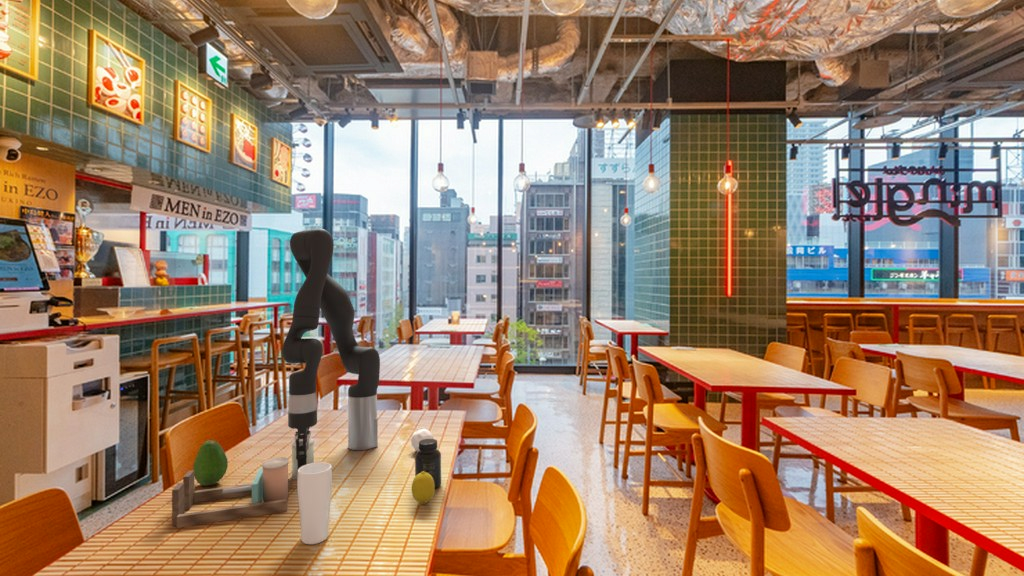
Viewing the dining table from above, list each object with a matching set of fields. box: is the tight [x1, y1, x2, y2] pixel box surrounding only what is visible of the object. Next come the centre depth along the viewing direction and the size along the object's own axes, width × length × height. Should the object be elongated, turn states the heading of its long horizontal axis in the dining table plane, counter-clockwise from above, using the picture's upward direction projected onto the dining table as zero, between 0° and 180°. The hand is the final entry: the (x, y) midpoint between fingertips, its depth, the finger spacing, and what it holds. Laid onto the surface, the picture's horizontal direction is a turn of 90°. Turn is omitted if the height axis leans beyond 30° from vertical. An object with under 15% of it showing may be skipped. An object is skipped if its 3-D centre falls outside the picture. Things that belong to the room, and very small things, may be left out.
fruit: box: [192, 439, 229, 487], centre depth 127 cm, size 8×8×12 cm
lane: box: [171, 469, 294, 529], centre depth 114 cm, size 23×14×8 cm, turn 110°
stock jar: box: [261, 456, 289, 503], centre depth 117 cm, size 6×6×10 cm
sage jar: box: [291, 437, 315, 480], centre depth 133 cm, size 6×6×10 cm
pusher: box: [222, 467, 263, 504], centre depth 114 cm, size 8×11×6 cm
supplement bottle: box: [414, 438, 442, 491], centre depth 125 cm, size 7×7×12 cm
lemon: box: [411, 471, 436, 505], centre depth 114 cm, size 6×6×8 cm
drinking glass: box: [296, 461, 333, 545], centre depth 99 cm, size 7×7×15 cm
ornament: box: [410, 427, 434, 452], centre depth 152 cm, size 7×7×8 cm
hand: (302, 468), depth 133 cm, fingers closed on sage jar, 5 cm apart
